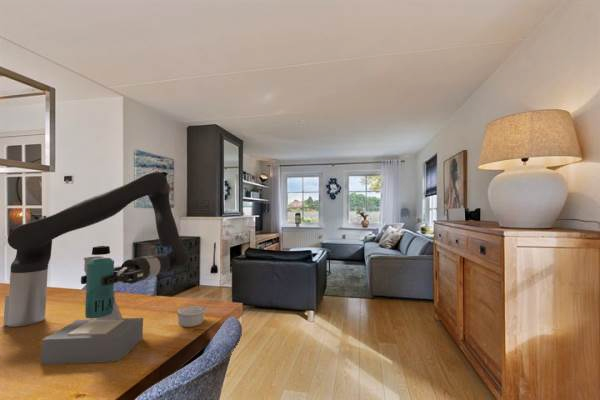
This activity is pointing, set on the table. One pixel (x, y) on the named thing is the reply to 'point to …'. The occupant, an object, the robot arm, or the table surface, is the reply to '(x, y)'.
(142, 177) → the robot arm
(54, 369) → the table surface
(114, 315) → the flask
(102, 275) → the beverage bottle
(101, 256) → the chalice
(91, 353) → the stand
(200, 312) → the ramekin
